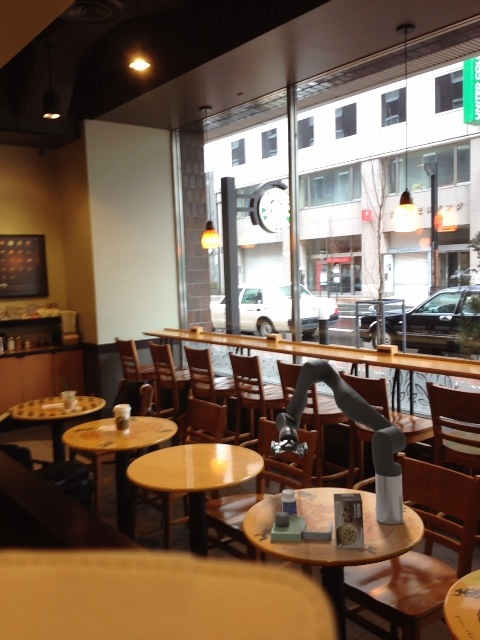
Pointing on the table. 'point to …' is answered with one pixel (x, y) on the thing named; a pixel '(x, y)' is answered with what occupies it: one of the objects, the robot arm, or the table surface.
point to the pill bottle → (289, 502)
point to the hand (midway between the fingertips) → (289, 455)
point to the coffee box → (348, 520)
